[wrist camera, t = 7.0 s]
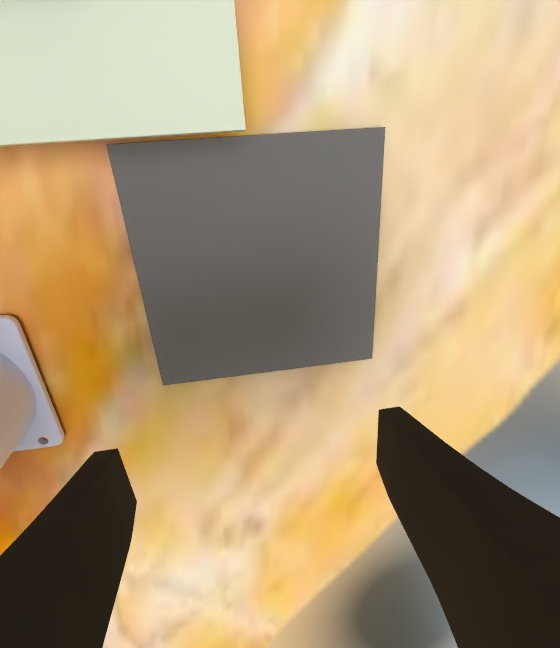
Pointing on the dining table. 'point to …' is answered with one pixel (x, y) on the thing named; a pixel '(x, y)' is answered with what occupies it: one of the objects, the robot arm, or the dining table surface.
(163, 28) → the lid
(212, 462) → the dining table surface
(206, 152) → the mat
